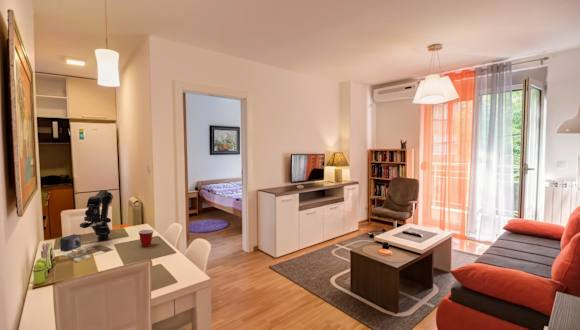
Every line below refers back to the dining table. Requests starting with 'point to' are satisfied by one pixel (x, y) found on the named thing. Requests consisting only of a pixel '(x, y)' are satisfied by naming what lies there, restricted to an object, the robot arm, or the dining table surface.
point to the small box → (70, 242)
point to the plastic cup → (146, 237)
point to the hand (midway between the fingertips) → (96, 233)
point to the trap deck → (89, 252)
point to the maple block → (78, 252)
